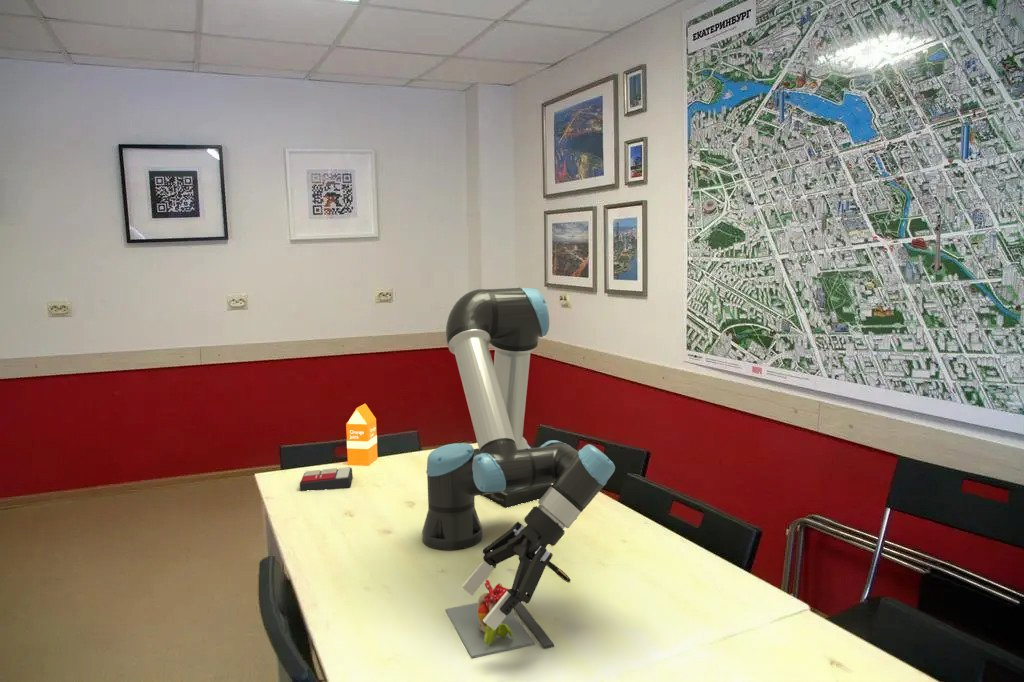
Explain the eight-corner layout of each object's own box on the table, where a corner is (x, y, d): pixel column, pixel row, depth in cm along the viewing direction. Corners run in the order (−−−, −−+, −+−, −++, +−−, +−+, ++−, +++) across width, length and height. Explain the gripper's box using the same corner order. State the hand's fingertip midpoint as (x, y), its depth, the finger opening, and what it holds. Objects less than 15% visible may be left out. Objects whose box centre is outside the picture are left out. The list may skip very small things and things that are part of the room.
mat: (443, 606, 142) (443, 603, 142) (512, 592, 148) (512, 590, 148) (475, 664, 122) (474, 661, 122) (553, 646, 127) (553, 643, 127)
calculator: (304, 470, 225) (351, 465, 227) (305, 483, 226) (352, 477, 228) (299, 481, 214) (349, 475, 217) (300, 494, 215) (350, 488, 217)
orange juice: (347, 465, 241) (345, 408, 239) (357, 457, 250) (354, 402, 248) (369, 465, 240) (366, 408, 238) (378, 458, 249) (376, 403, 246)
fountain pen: (538, 559, 165) (538, 553, 164) (542, 558, 165) (542, 552, 165) (568, 584, 152) (568, 577, 151) (572, 583, 152) (572, 576, 152)
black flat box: (553, 497, 207) (553, 484, 207) (505, 509, 198) (505, 495, 197) (522, 482, 221) (521, 470, 220) (475, 493, 211) (475, 481, 211)
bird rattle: (469, 646, 130) (491, 649, 123) (457, 585, 133) (478, 584, 126) (497, 637, 134) (521, 638, 126) (485, 577, 136) (507, 575, 129)
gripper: (594, 554, 122) (514, 653, 118) (539, 507, 145) (471, 588, 141) (565, 529, 119) (483, 630, 116) (514, 485, 142) (445, 568, 139)
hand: (476, 607), depth 129 cm, fingers open, 13 cm apart
